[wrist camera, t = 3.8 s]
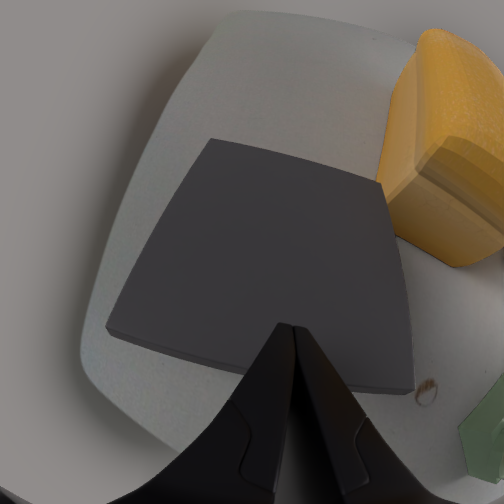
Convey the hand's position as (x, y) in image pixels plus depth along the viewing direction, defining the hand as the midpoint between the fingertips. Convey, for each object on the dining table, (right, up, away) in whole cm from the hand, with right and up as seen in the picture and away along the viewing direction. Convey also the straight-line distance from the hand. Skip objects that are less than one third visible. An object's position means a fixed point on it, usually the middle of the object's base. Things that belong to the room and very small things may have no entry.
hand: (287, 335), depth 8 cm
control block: (+27, -17, +11) cm, 34 cm away
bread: (+20, +13, +21) cm, 32 cm away
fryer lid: (+1, +3, +6) cm, 6 cm away
